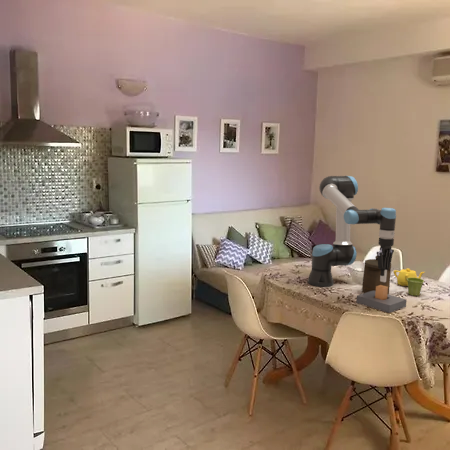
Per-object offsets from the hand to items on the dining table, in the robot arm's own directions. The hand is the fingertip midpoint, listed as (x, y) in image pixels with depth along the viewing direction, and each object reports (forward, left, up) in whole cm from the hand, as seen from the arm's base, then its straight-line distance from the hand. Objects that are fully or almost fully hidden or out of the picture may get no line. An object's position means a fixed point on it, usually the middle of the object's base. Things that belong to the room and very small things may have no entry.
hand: (383, 281), depth 273 cm
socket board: (0, 0, -13) cm, 13 cm away
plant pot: (+1, +32, -13) cm, 35 cm away
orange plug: (0, 0, -12) cm, 12 cm away
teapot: (-11, +46, -13) cm, 49 cm away
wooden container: (-14, +16, -13) cm, 25 cm away
